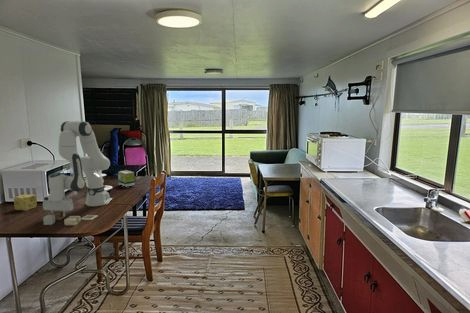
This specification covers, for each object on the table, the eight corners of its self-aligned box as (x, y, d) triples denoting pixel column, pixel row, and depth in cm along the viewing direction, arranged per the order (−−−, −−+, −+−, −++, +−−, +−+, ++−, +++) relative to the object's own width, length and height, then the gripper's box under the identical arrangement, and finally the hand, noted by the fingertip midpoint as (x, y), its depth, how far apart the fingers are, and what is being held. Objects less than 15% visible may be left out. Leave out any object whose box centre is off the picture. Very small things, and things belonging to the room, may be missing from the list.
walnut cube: (58, 217, 206) (57, 210, 205) (65, 217, 205) (64, 210, 204) (53, 219, 201) (52, 212, 200) (60, 220, 200) (59, 213, 199)
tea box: (118, 185, 300) (117, 171, 298) (127, 183, 308) (126, 170, 306) (125, 187, 290) (125, 173, 288) (135, 186, 298) (134, 171, 296)
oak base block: (70, 221, 199) (70, 215, 198) (80, 221, 199) (80, 216, 198) (64, 225, 192) (64, 219, 191) (75, 225, 192) (75, 219, 192)
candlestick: (92, 188, 288) (90, 160, 284) (116, 188, 286) (115, 160, 282) (79, 193, 268) (77, 163, 264) (105, 194, 266) (104, 164, 262)
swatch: (87, 215, 210) (87, 214, 210) (98, 216, 209) (98, 214, 209) (80, 219, 202) (80, 218, 202) (91, 219, 202) (91, 218, 201)
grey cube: (47, 222, 197) (46, 215, 196) (55, 221, 198) (54, 214, 197) (43, 225, 192) (43, 217, 191) (52, 224, 193) (51, 217, 192)
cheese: (26, 211, 219) (24, 198, 218) (13, 210, 221) (12, 197, 220) (37, 206, 229) (36, 194, 228) (25, 206, 231) (24, 193, 230)
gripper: (74, 196, 203) (76, 215, 205) (47, 195, 205) (48, 214, 207) (68, 198, 197) (70, 218, 199) (40, 197, 198) (42, 217, 200)
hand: (59, 216), depth 203 cm, fingers closed on walnut cube, 5 cm apart
